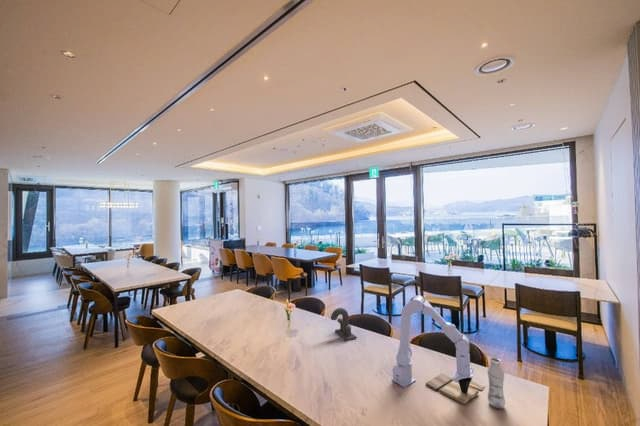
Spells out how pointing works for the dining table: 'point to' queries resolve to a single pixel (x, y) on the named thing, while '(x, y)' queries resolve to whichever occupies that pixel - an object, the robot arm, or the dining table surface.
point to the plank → (476, 385)
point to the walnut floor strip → (438, 382)
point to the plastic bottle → (496, 384)
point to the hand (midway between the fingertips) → (464, 392)
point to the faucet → (343, 324)
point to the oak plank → (458, 392)
